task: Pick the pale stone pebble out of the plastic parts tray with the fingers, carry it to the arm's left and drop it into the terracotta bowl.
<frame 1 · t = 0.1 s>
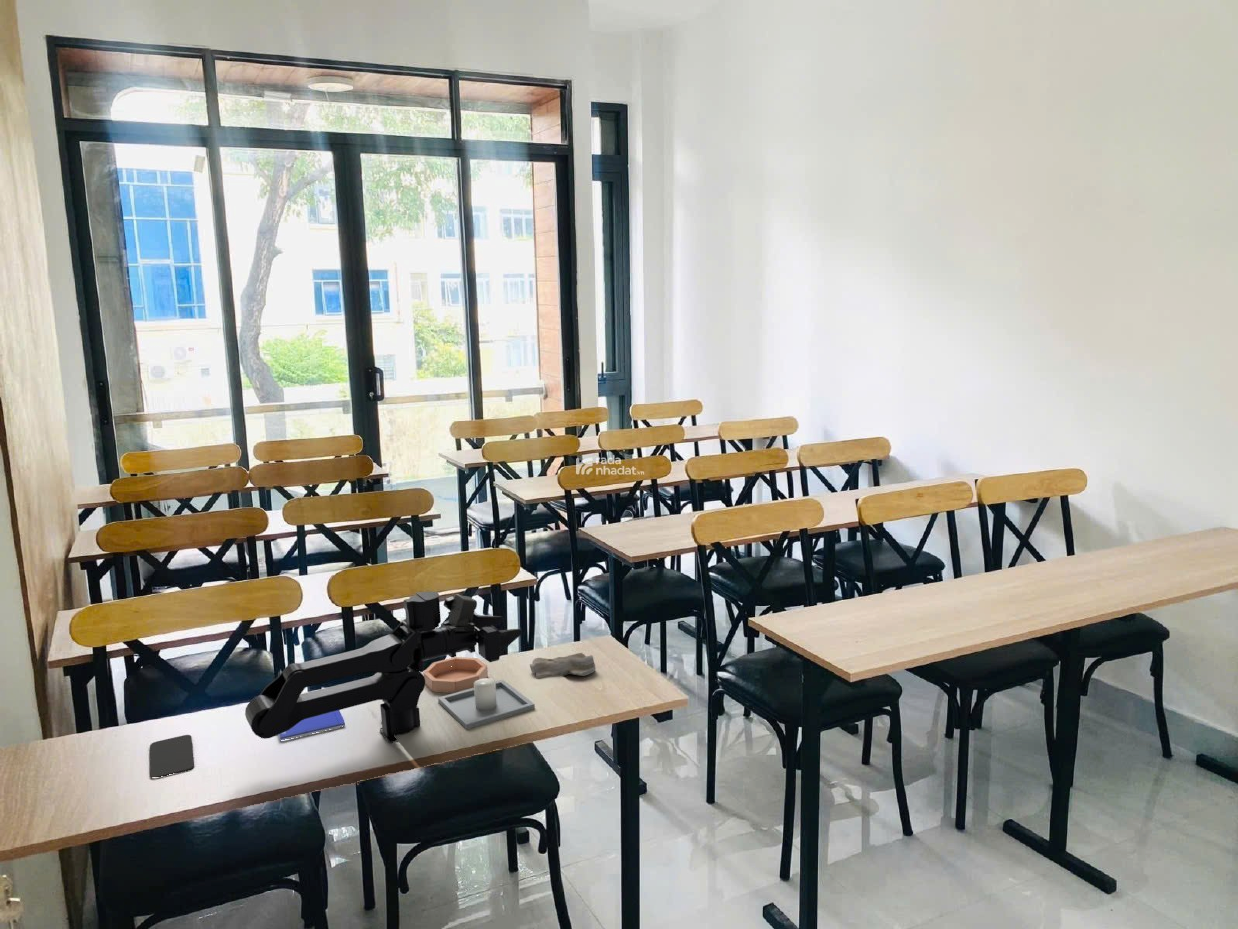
hand: (511, 625, 183), 17 cm above the table, tool horizontal, fingers open, 9 cm apart
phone: (172, 759, 166), on the table
hard drive: (310, 729, 177), on the table
bowl: (456, 683, 195), on the table
parts tray: (486, 709, 181), on the table
stone: (562, 674, 199), on the table
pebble: (485, 705, 181), point 1 cm above the table, touching parts tray
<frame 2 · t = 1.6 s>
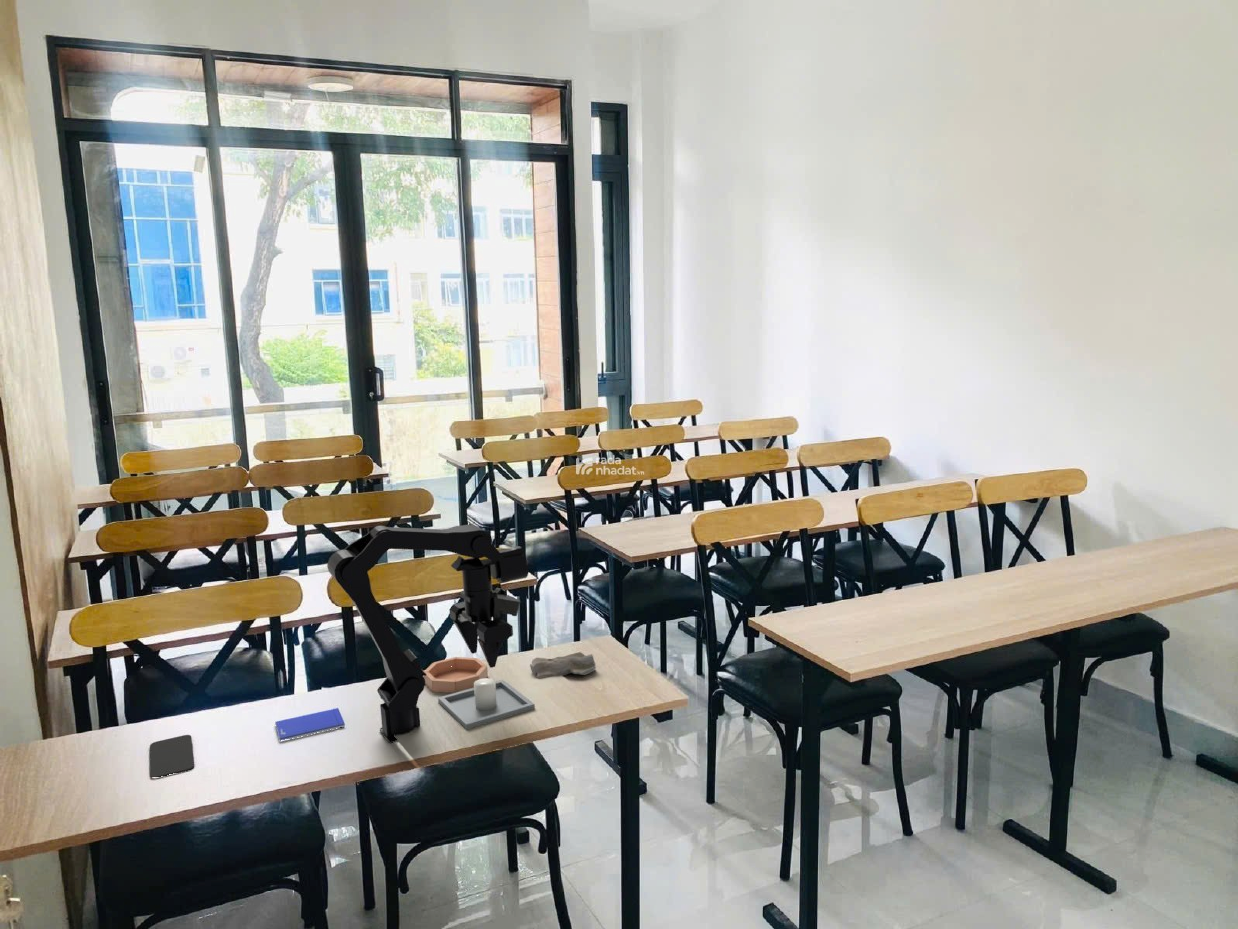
hand: (483, 659, 179), 11 cm above the table, tool pointing down, fingers open, 9 cm apart
nothing on the table moved.
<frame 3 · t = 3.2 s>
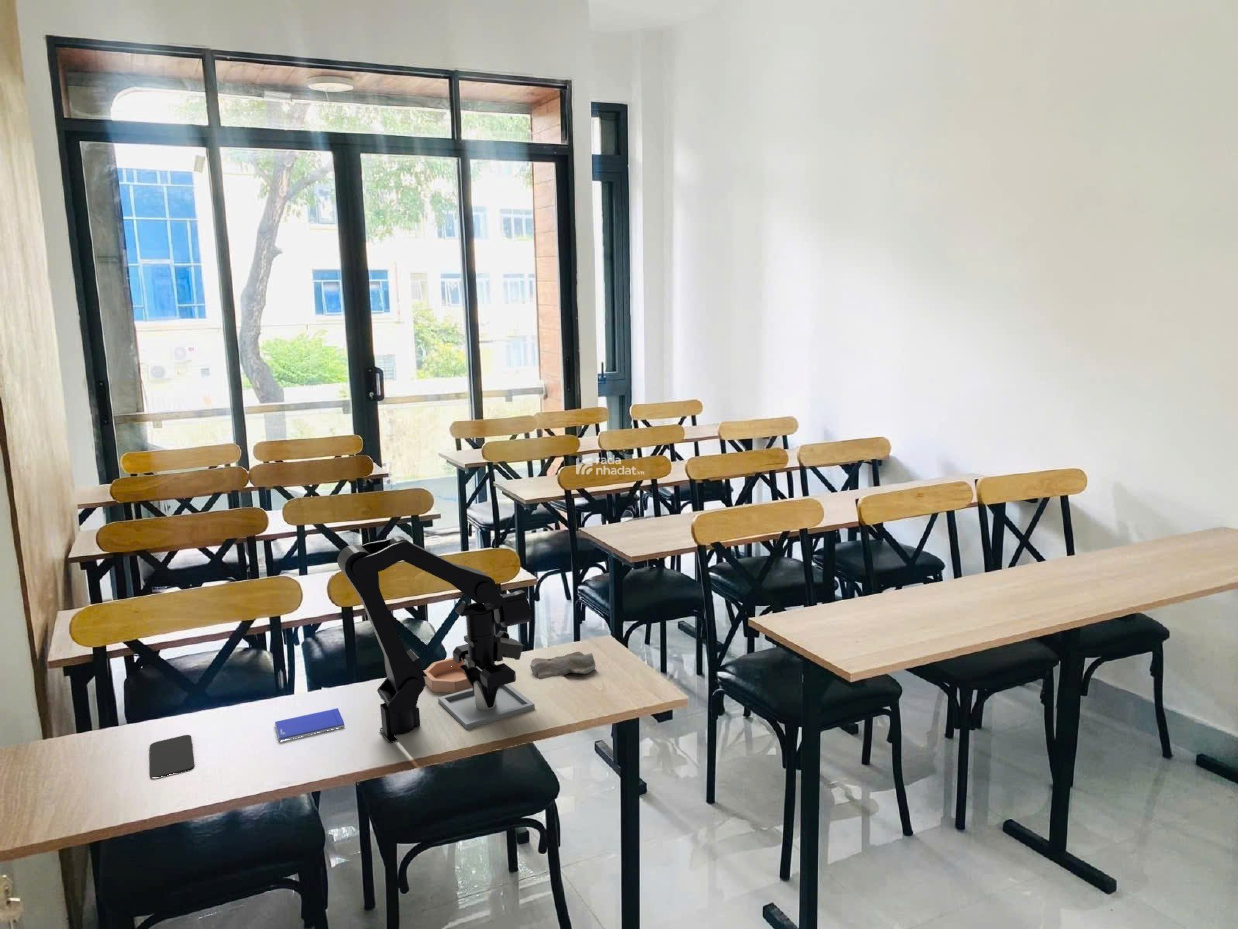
hand: (485, 703, 181), 2 cm above the table, tool pointing down, fingers closed on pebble, 4 cm apart
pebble: (485, 705, 181), point 1 cm above the table, touching gripper, parts tray
everything else where it was.
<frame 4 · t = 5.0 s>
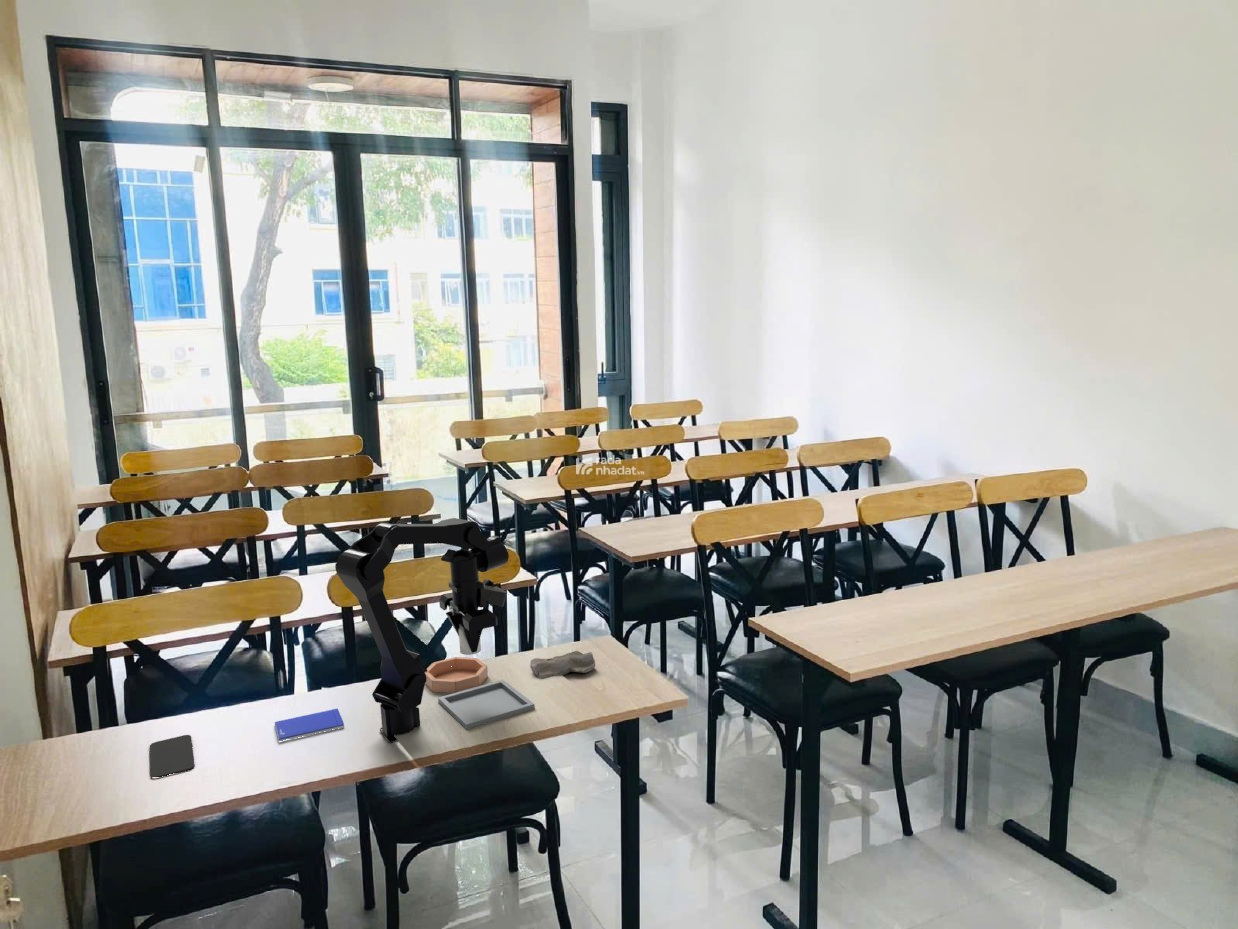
hand: (470, 648, 185), 11 cm above the table, tool pointing down, fingers closed on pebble, 4 cm apart
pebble: (470, 650, 185), point 11 cm above the table, touching gripper
everything else where it was.
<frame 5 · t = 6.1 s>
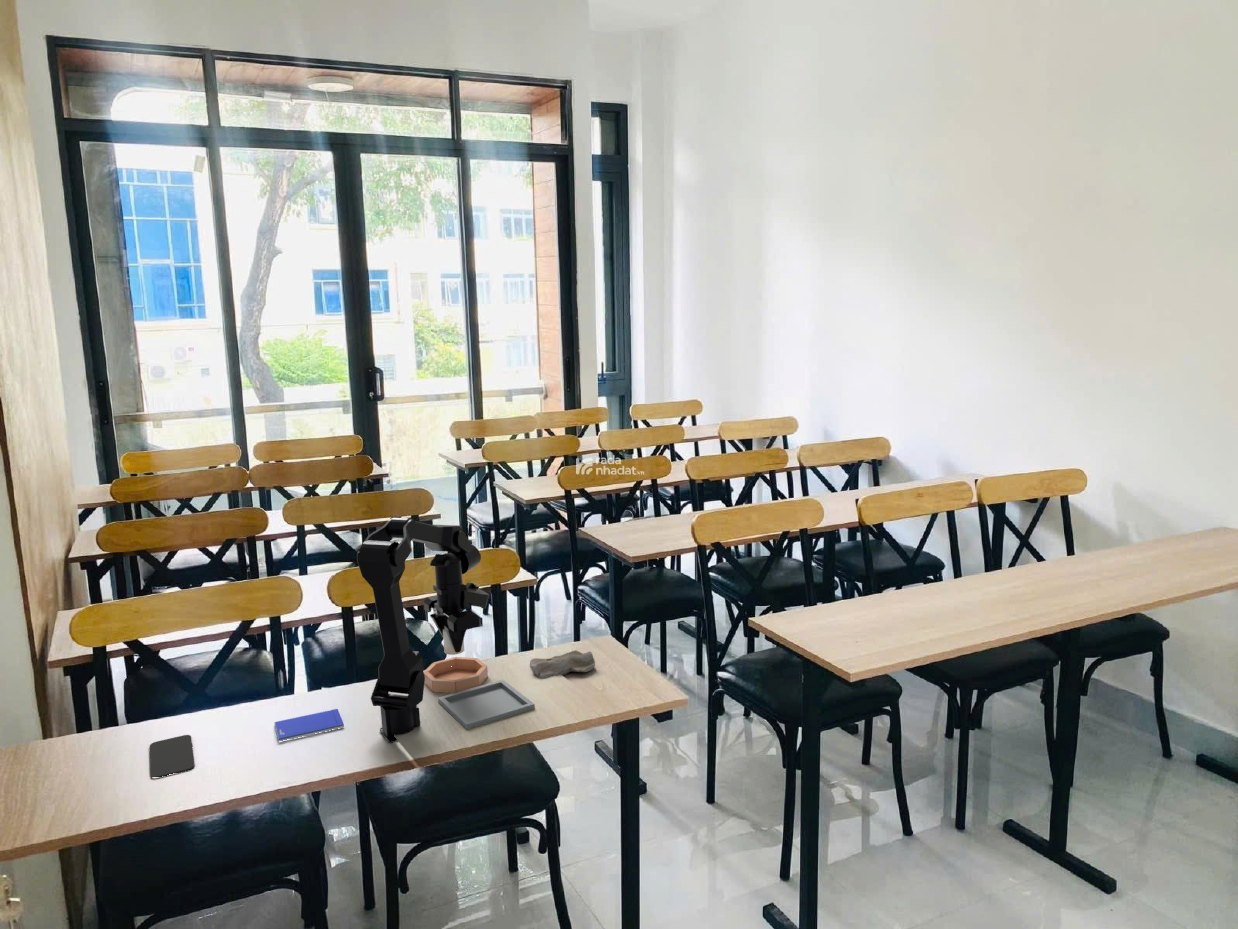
hand: (453, 648, 193), 8 cm above the table, tool pointing down, fingers closed on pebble, 4 cm apart
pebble: (454, 650, 193), point 8 cm above the table, touching gripper
when the fingers open (5 cm above the table, at t = 7.0 s): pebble drops 3 cm, resting on bowl.
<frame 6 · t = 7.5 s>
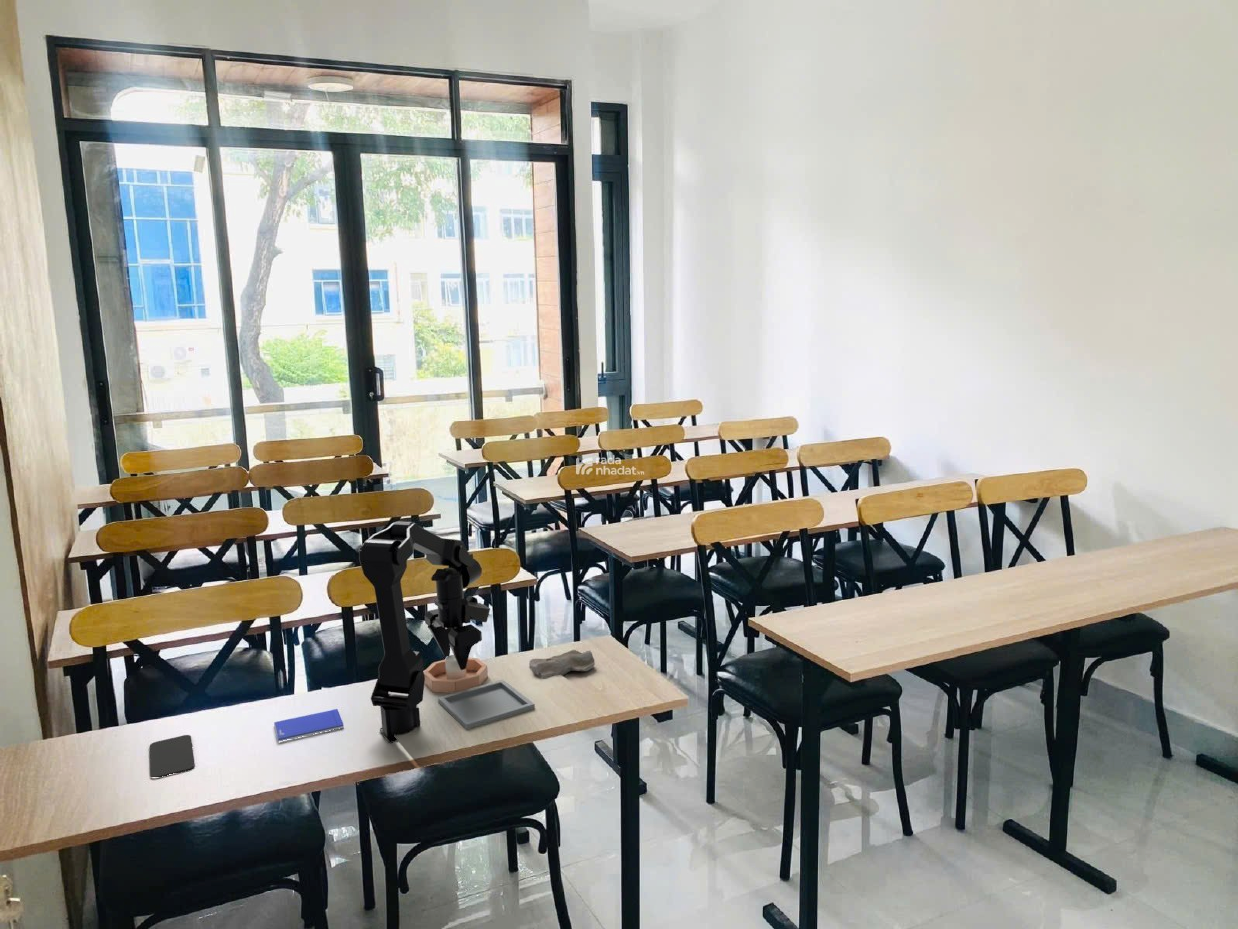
hand: (454, 662, 194), 5 cm above the table, tool pointing down, fingers open, 9 cm apart
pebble: (456, 679, 194), point 1 cm above the table, touching bowl
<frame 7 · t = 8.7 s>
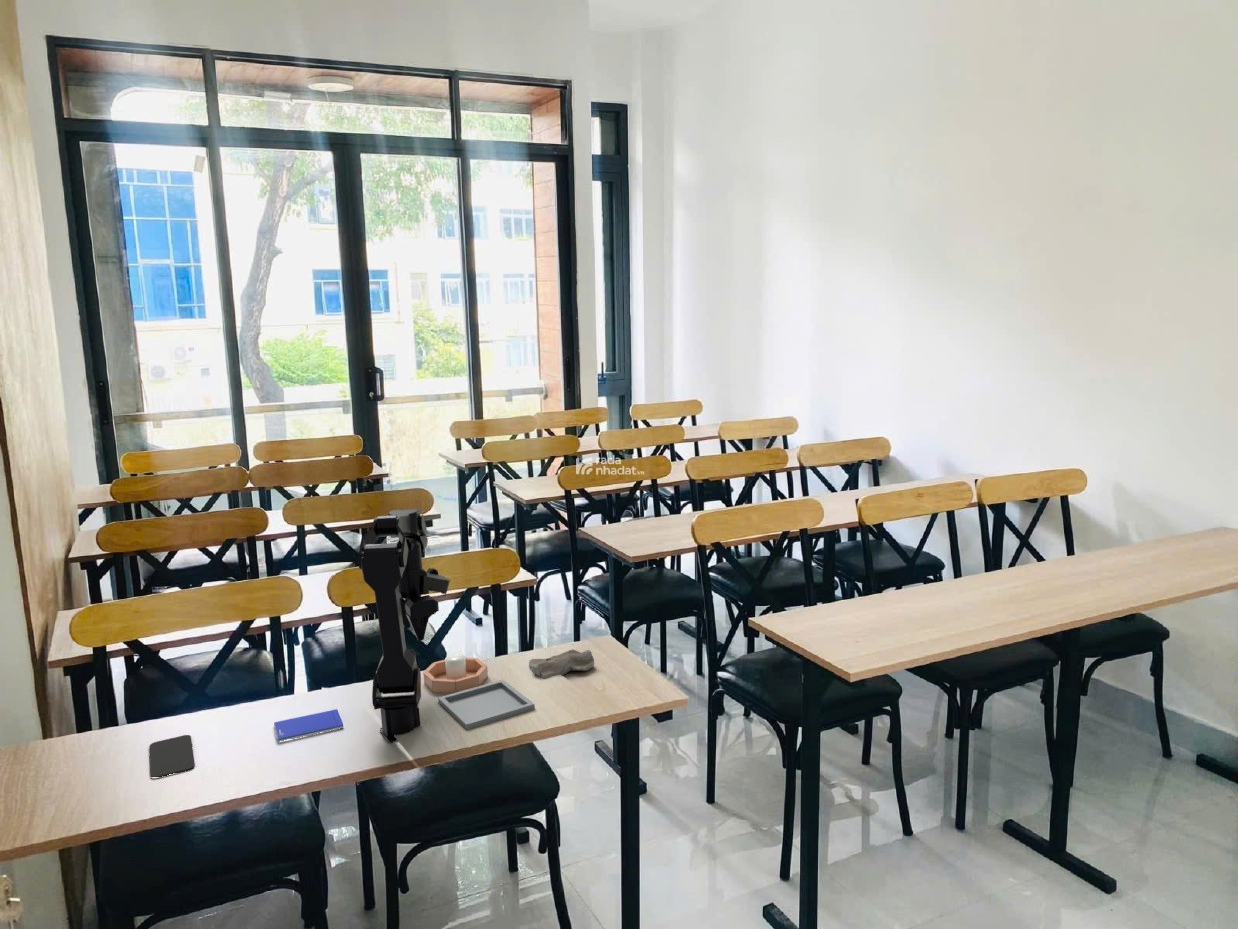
hand: (414, 634, 192), 12 cm above the table, tool pointing down, fingers open, 9 cm apart
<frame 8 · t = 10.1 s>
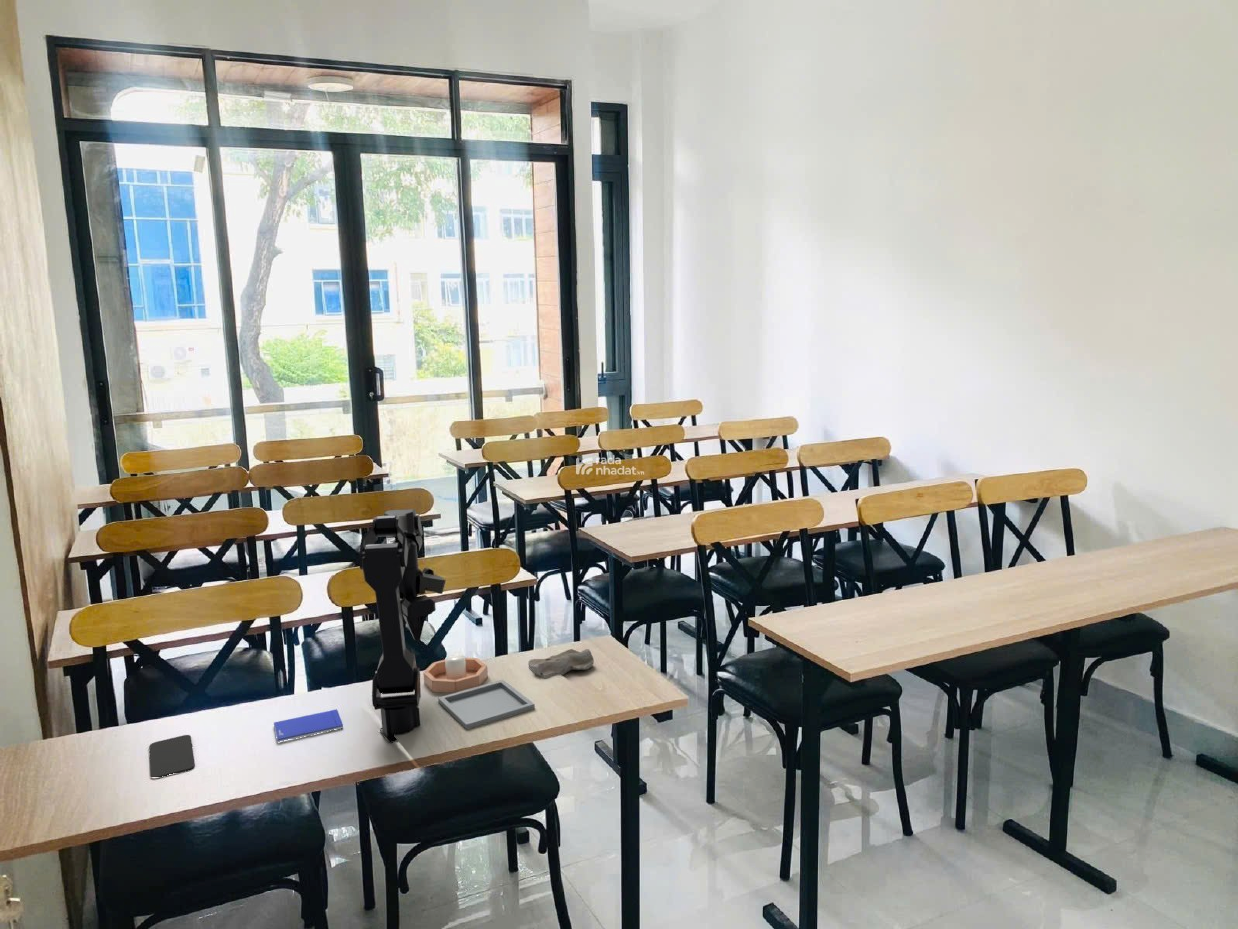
hand: (410, 634, 192), 12 cm above the table, tool pointing down, fingers open, 9 cm apart
at the end: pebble inside the target area on the bowl (0.1 cm from its centre), point 1.0 cm above the bowl's base; the gripper is holding nothing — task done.
